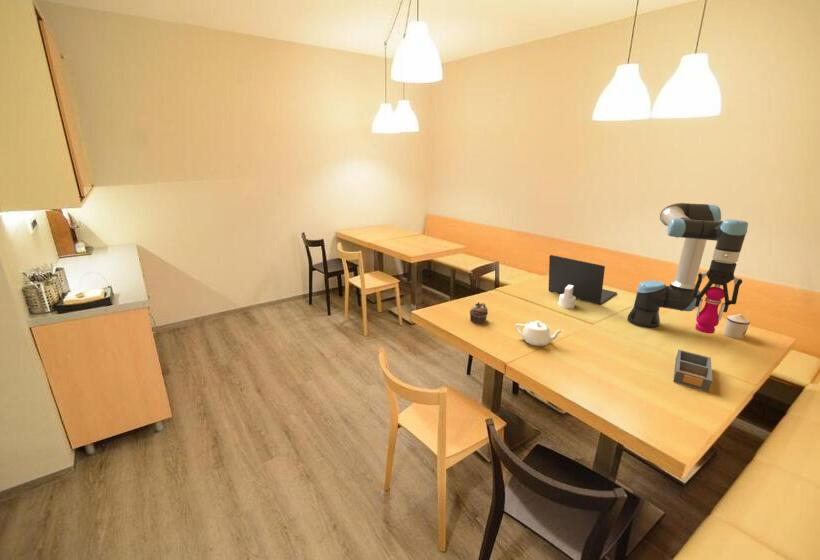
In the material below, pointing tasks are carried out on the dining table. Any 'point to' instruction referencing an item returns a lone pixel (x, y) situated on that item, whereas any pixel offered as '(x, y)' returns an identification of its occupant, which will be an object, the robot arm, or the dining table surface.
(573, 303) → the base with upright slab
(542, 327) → the teapot
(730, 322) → the teacup with lid
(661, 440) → the dining table surface
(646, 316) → the robot arm
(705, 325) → the pepper mill
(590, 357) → the dining table surface
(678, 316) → the dining table surface
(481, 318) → the cupcake
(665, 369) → the dining table surface
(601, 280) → the laptop
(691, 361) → the rack
